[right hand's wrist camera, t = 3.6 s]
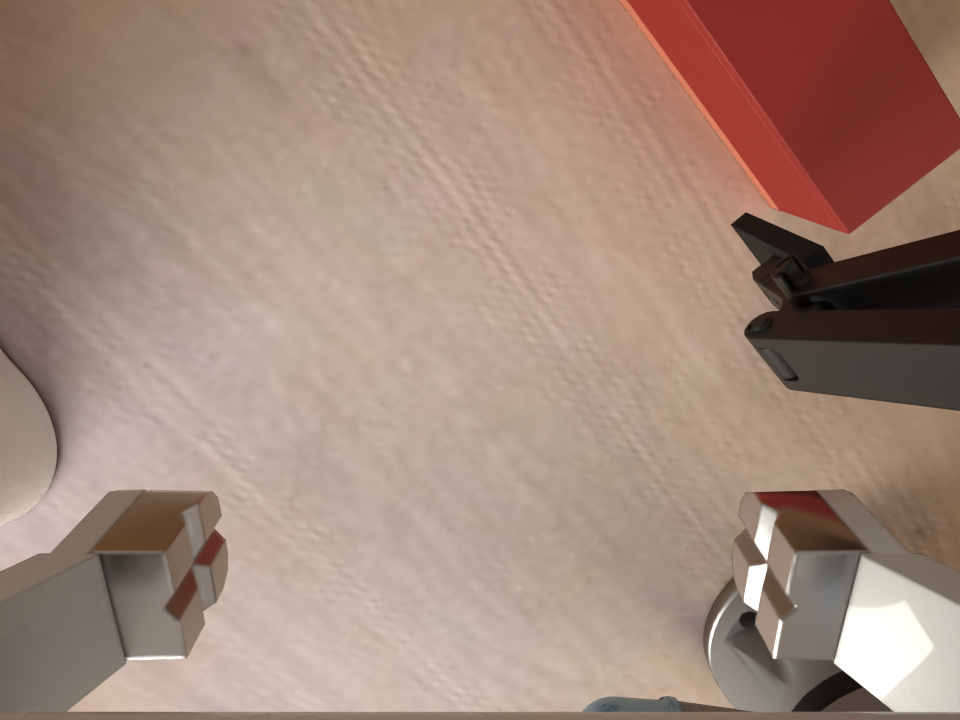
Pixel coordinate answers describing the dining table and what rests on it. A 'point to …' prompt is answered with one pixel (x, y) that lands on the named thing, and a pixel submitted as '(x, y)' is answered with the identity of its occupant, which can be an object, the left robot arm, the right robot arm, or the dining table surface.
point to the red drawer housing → (809, 97)
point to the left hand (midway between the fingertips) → (900, 127)
